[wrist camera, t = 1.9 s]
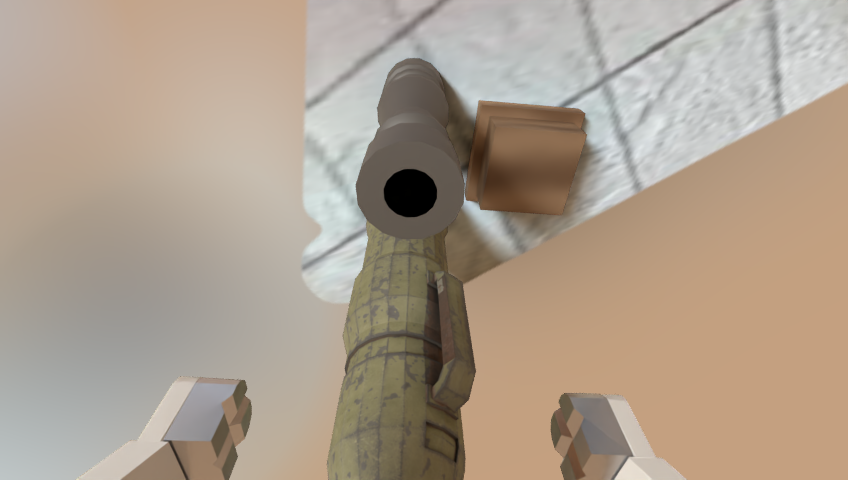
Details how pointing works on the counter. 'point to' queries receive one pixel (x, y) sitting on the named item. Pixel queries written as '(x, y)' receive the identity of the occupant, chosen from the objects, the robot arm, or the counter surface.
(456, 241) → the counter surface
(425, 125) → the candle holder
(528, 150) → the walnut stand
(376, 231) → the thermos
